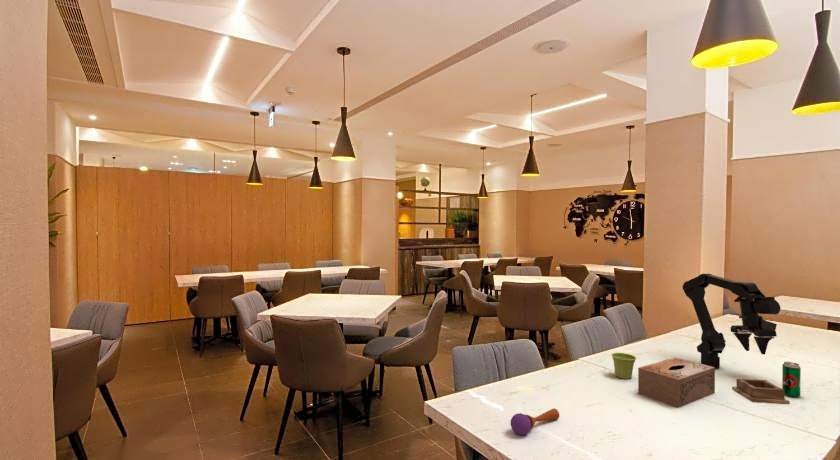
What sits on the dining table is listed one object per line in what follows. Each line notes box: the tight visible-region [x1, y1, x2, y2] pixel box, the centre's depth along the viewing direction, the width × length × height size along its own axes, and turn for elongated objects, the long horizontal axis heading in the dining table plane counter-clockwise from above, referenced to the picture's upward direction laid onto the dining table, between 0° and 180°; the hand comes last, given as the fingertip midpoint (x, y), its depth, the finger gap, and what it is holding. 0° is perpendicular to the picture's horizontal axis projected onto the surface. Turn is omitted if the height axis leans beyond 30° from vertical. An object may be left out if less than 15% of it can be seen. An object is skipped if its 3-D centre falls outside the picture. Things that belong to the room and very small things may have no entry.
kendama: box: [510, 408, 560, 436], centre depth 129 cm, size 6×6×20 cm
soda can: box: [781, 361, 802, 398], centre depth 155 cm, size 5×5×12 cm
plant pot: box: [611, 352, 637, 380], centre depth 174 cm, size 9×9×9 cm
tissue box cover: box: [637, 357, 716, 409], centre depth 156 cm, size 26×14×10 cm, turn 121°
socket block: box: [731, 378, 791, 405], centre depth 154 cm, size 12×12×4 cm
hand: (755, 352), depth 168 cm, fingers open, 9 cm apart
